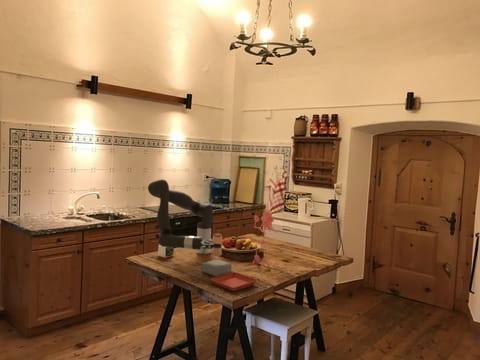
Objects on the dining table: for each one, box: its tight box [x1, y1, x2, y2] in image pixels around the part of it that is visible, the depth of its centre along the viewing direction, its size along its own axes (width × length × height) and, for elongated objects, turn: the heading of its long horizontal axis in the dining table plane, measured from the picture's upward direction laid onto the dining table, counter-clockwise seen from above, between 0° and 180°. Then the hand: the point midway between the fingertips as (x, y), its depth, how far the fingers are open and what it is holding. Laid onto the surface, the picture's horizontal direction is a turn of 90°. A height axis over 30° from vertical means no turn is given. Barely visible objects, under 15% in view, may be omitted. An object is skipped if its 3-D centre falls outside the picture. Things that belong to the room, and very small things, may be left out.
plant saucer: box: [210, 271, 258, 292], centre depth 214 cm, size 18×18×3 cm
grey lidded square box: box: [201, 258, 232, 277], centre depth 234 cm, size 12×12×5 cm
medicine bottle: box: [157, 244, 175, 259], centre depth 262 cm, size 7×7×12 cm
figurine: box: [252, 208, 278, 269], centre depth 249 cm, size 15×26×35 cm, turn 28°
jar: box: [211, 233, 223, 257], centre depth 232 cm, size 5×5×12 cm
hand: (221, 244), depth 232 cm, fingers closed on jar, 5 cm apart
